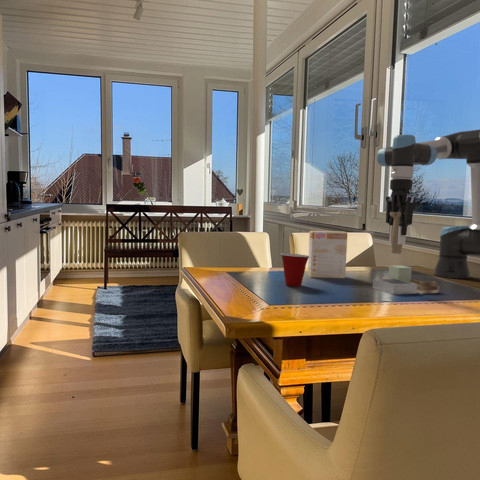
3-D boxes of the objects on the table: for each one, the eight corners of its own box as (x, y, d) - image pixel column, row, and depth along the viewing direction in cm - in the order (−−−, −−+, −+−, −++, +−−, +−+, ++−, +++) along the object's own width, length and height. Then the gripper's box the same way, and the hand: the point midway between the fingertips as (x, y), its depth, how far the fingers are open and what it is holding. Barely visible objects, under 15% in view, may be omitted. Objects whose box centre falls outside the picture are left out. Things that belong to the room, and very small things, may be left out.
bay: (399, 282, 185) (399, 272, 184) (438, 292, 164) (439, 282, 163) (382, 282, 182) (383, 272, 182) (420, 293, 161) (421, 282, 161)
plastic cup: (312, 285, 170) (314, 253, 169) (300, 289, 161) (301, 256, 160) (287, 281, 176) (289, 251, 175) (274, 285, 167) (275, 253, 166)
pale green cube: (400, 280, 182) (401, 265, 182) (410, 282, 177) (411, 267, 176) (388, 280, 180) (389, 265, 180) (398, 283, 175) (399, 267, 174)
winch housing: (394, 287, 172) (395, 278, 172) (416, 293, 161) (417, 284, 160) (372, 288, 169) (373, 278, 168) (393, 294, 157) (393, 284, 157)
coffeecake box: (341, 275, 195) (343, 231, 194) (345, 278, 188) (348, 232, 186) (307, 274, 195) (309, 230, 193) (310, 277, 188) (312, 231, 186)
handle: (401, 254, 159) (404, 212, 158) (384, 252, 164) (387, 211, 163) (407, 254, 163) (410, 212, 161) (391, 252, 167) (394, 212, 166)
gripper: (378, 179, 168) (374, 241, 170) (408, 177, 152) (404, 246, 154) (394, 180, 170) (390, 241, 172) (426, 178, 154) (421, 246, 156)
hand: (397, 243), depth 163 cm, fingers closed on handle, 4 cm apart
